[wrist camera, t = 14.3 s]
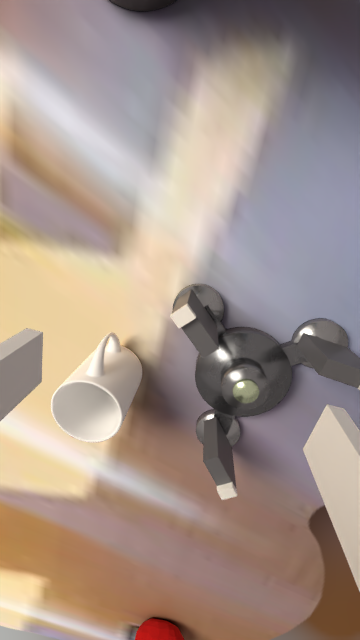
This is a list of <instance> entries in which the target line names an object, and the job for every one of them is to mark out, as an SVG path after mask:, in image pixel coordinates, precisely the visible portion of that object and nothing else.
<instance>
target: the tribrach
mask: <svg viewBox="0 0 360 640" xmlns="http://www.w3.org/2000/svg"><path fill="white" fill-rule="evenodd" d="M190 289H192V290H193V292H194V293H195V294H196V296H197V297H198V299H199V300H200V302H201V303H202V305H203V306H204V308H205V309H206V310H207V312H208V313H209V315H210V316H211V318H212V319H213V321H214V322H215V323H216V325H217V333H218V344H219V349H218V350H216V351H215V352H213V353H211V354H210V355H208V356H206V357H204V358H203V357H202V356H201V354H200V353H199V354H198V357H197V361H196V372H195V380H196V385H197V388H198V391H199V393H200V394H201V396H202V397H203V399H204V400H205V401H206V402H207V403H208V404H209V405H210V406H211V407H213V408H214V409H212V410H209V411H206V412H205V413H203V414H202V415H201V416H200V417H199V418H198V421H197V425H196V434H197V437H198V439H199V441H200V442H201V443H202V444H203V445H204V421H205V420H208V419H211V418H214V417H217V419H218V421H219V423H220V425H221V427H222V429H223V431H224V433H225V435H226V437H227V439H228V440H229V442H230V444H231V446H233V445H235V444H236V443H237V441H238V440H239V437H240V427H239V422H238V420H237V419H236V417H235V416H238V417H247V416H254V415H258V414H261V413H264V412H266V411H268V410H270V409H272V408H273V407H275V406H276V405H277V404H278V403H279V402H280V401H281V400H282V399H283V398H284V397H285V395H286V393H287V392H288V390H289V387H290V384H291V380H292V369H291V366H293V365H296V364H299V363H302V364H303V365H305V366H307V367H311V368H313V367H312V365H311V364H310V363H309V361H308V360H307V359H306V357H305V356H304V355H303V354H302V352H301V351H300V350H299V348H298V347H297V344H298V342H299V340H300V338H301V336H302V334H303V333H306V334H309V335H312V336H315V337H318V338H321V339H324V340H327V341H330V342H333V343H336V344H339V345H342V346H345V347H348V337H347V334H346V332H345V331H344V330H343V328H342V327H340V326H339V325H338V324H336V323H335V322H333V321H331V320H328V319H323V318H318V319H312V320H309V321H307V322H305V323H303V324H302V325H301V326H299V327H298V328H297V330H296V331H295V332H294V334H293V337H292V340H291V341H289V342H286V343H283V344H279V343H278V342H277V341H276V340H275V339H274V338H273V337H272V336H270V335H269V334H267V333H265V332H263V331H261V330H258V329H255V328H250V327H235V328H230V329H225V327H224V326H223V324H222V323H221V321H222V318H223V315H224V306H223V301H222V299H221V296H220V295H219V293H218V292H217V291H216V290H215V289H213V288H212V287H210V286H208V285H205V284H192V285H189V286H187V287H185V288H184V289H182V290H181V291H180V292H179V294H178V295H177V297H176V299H175V301H174V304H173V309H174V307H175V305H176V302H177V300H178V298H179V297H180V296H181V295H183V294H184V293H186V292H187V291H189V290H190Z"/></svg>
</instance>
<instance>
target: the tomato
mask: <svg viewBox="0 0 360 640" xmlns="http://www.w3.org/2000/svg"><path fill="white" fill-rule="evenodd" d="M135 640H184V638H183V636H182V634H181V632H180V630H179V629H178V627H177V626H175V625H173V624H172V623H170V622H168V621H165V620H159V619H153V618H151V619H149V620H147V621H145V622H143V623H142V625H141V626H140V627H139V629H138V631H137V633H136V637H135Z"/></svg>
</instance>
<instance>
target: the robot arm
mask: <svg viewBox="0 0 360 640" xmlns="http://www.w3.org/2000/svg"><path fill="white" fill-rule="evenodd" d="M110 1H112V2H113V3H115V4H117V5H119V6H121V7H123V8H126V9H130V10H134V11H152V10H157V9H160V8H163V7H166V6H168V5H170V4H172V3H173V2H175V1H177V0H110ZM42 347H43V332H40V331H36V330H32V329H28V328H26V329H24V330H23V331H21V332H19V333H18V334H16V335H14V336H12V337H11V338H9V339H7V340H6V341H4V342H2V343H0V421H1V420H2V419H3V418H4V417H5V416H6V415H7V414H8V413H9V412H10V411H11V410H12V409H14V408H15V407H16V406H17V405H18V404H19V403H20V402H21V401H22V400H23V399H24V398H25V397H26V396H27V395H28V394H29V393H30V392H31V391H32V390H33V389H35V388H36V387H37V386H38V385H39V384H40V383H41V381H42ZM303 451H304V454H305V456H306V459H307V461H308V464H309V466H310V469H311V471H312V474H313V476H314V479H315V481H316V484H317V486H318V489H319V491H320V494H321V496H322V499H323V501H324V504H325V506H326V509H327V511H328V514H329V516H330V519H331V521H332V524H333V526H334V528H335V531H336V534H337V536H338V539H339V541H340V543H341V546H342V548H343V551H344V554H345V556H346V559H347V561H348V564H349V566H350V568H351V571H352V574H353V576H354V579H355V581H356V583H357V586H358V589H359V591H360V431H359V429H358V428H357V426H356V425H355V423H354V422H353V421H352V419H351V418H350V416H349V415H348V414H347V412H346V411H345V409H343V408H339V407H335V406H332V405H328V404H327V405H326V407H325V409H324V411H323V413H322V415H321V416H320V418H319V420H318V422H317V424H316V426H315V428H314V430H313V431H312V433H311V435H310V437H309V439H308V441H307V443H306V444H305V446H304V448H303Z"/></svg>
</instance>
